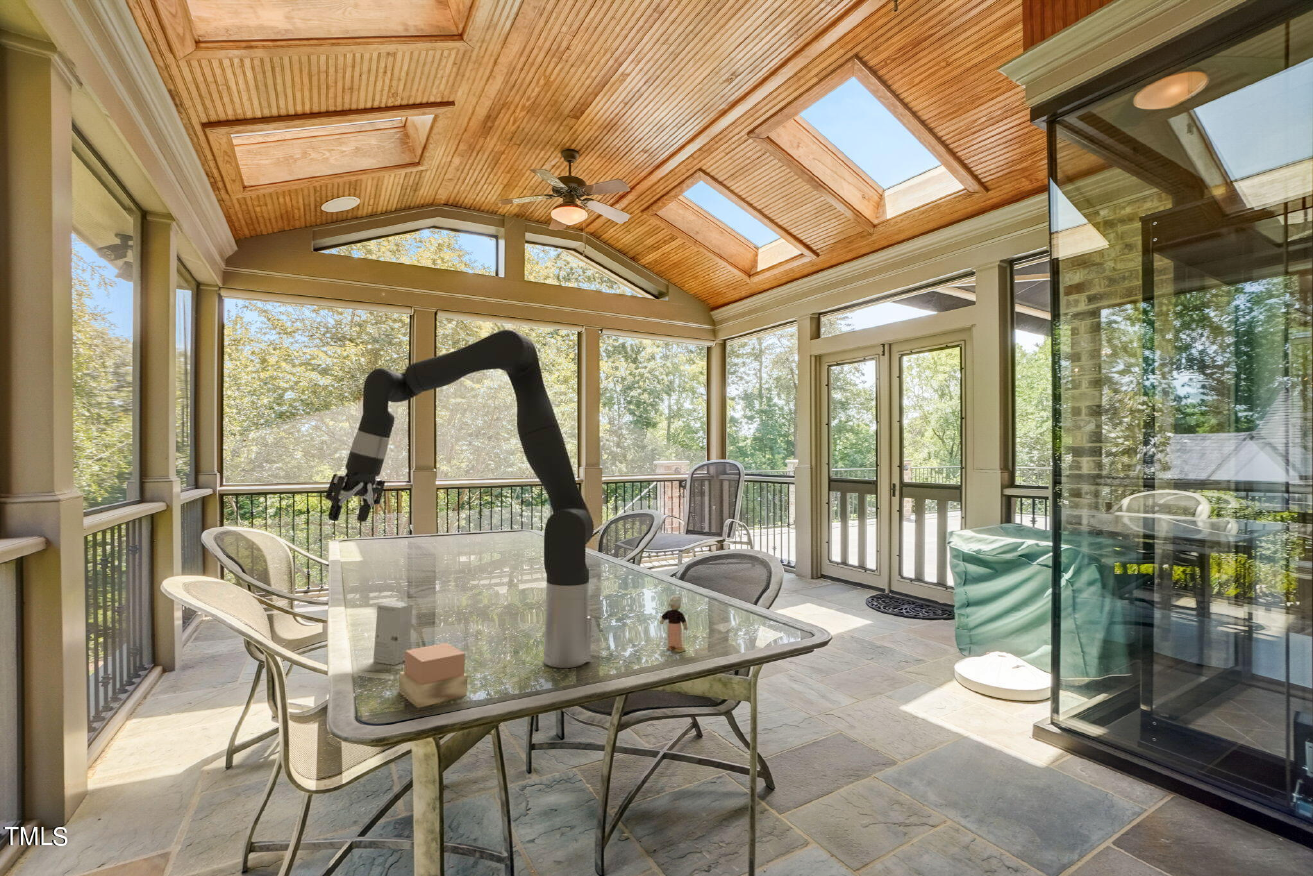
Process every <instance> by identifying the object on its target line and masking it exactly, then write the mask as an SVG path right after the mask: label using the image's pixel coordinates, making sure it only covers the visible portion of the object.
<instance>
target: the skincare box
mask: <svg viewBox="0 0 1313 876" xmlns="http://www.w3.org/2000/svg"><path fill="white" fill-rule="evenodd" d="M413 605H414V604H413V603H408V602H403V601H395V600H389V601H386V602H382V603H379V604H377V608H376V623H375V633H374V634H375V636H374V648H373V662H375V663H380V664H384V663H385V664H386V665H390V664H391V665H390V666H397V665H399V664H398V663H400V664H402V663H404V662H403V661H405V650H410V646H411V645H410V643H411V634H412V633H411V632H412V617H413V609H414V608H413ZM401 662H402V663H401ZM396 664H397V665H396Z"/></svg>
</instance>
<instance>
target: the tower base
mask: <svg viewBox="0 0 1313 876" xmlns="http://www.w3.org/2000/svg"><path fill="white" fill-rule="evenodd" d="M398 682H399V683H398V693H399V692H400V693H401V694H402V695H404V696H403V698H405V697H406V698H405V699H406V700H407V699H408V700H407V701H408V702H410V703H411V704H412V705H414V706H415V707H416V708H418V709H420V708H423V707H427V706H430V705H435V704H438V703H442V702H446V701H447V702H448V701H449V700H454V699H458V698H462V697H465V696H467V691H468V690H467V689H468V674H467V673H465V672H464V675H463V676H458V677H454V678H449V679H445V680H440V681H436V682H432V683H427V684H423V685H420V684H419V683H418V682H416V681H415V680H414V679H412V678H411V677H410V676H408V675H407V674H406V673H404V671H400V672H399V679H398ZM400 693H399V694H400ZM401 694H400V695H401ZM402 695H401V696H402Z"/></svg>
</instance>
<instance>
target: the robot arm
mask: <svg viewBox="0 0 1313 876" xmlns="http://www.w3.org/2000/svg"><path fill="white" fill-rule="evenodd" d="M489 370H490V371H491V370H501V371H503V372H505V373H506V374H507V376H508V379H509V380H510V384H511V386H512V388H513V391H514V396H515V399H516V429H517V430H516V431H517V434H518V437H519V438H518V439H519V441H520V444H521V448H522V451H523V453H524V456H525V459H526V461H527V463H528V465H529V466H530V468H531V470H532V471H533V473H534V474H535V477H537V479H538V481H539V482H540V483H541V485H542V486H543V488H544V491H545V492H546V495H547V497H548V499H549V500H548V501H549V503H550V508H551V511H552V514H551V515H550V516H549V517H548V519H547V520H546V522H545V525H544V535H543V567H544V570H545V574H546V583H545V584H546V585H545V586H546V589H545V591H546V592H545V617H544V618H545V620H544V642H543V643H544V644H543V646H544V647H543V648H544V649H543V663H544V664H545V665H546V666H549V667H552V668H561V669H565V668H566V669H567V668H568V669H569V668H575V667H580V666H582V665H585V664H586V663H589V662H591V646H592V617H591V616H589V594H590V593H589V590H590V589H589V588H590V570H589V567H588V566H587V562H586V559H587V558H586V553H587V552H586V549H587V548H586V545H587V544H588V543H589V542H590V541H591V540H592V538H593V536H594V535H593V534H594V529H595V525H594V521H593V520H594V519H593V517H592V515H591V512H590V511H589V508H588V507H587V504H586V502H585V499H584V497H583V495H582V493H581V491H580V488H579V486H578V483H577V481H576V476H575V474H574V470H573V465H572V462H571V460H570V456H569V453H568V451H567V447H566V443H565V441H564V437H563V433H562V430H561V427H560V424H559V422H558V419H557V417H556V413H555V411H554V409H553V408H554V407H553V405H552V402H551V399H550V397H549V395H548V392H547V389H546V386H545V383H544V379H543V374H542V370H541V365H540V359H539V355H538V352H537V348H536V346H535V345H534V342H533V341H532V339H530V338H529V337H528V336H526V335H524V334H522V333H520V332H518V331H516V330H513V329H501V330H498V331H496V332H494V333H492V334H489V335H487V336H485V337H484V338H481V339H479V340H477V341H475V342H473V343H471V344H468V345H466V346H464V347H460V348H459V349H456V350H453V351H449V352H447V353H444V354H440V355H437V356H433V357H429V358H426V359H422V360H419V361H415V362H413V363H410V364H409V365H408V366H406V368H405V371H404V372H396V371H392V370H390V369H387V368H383V367H379V368H374V369H373V370H372V371H371V372H369V373H368V375H367V377H366V378H365V381H364V383H363V390H362V391H363V393H362V394H363V395H362V416H361V419H360V422H359V425H358V428H357V431H356V434H355V436H354V438H353V440H352V444H351V446H350V450H349V454H348V457H347V460H346V463H345V466H344V467H345V469H346V473H345V475H341V474H338V473H333V474H332V478H331V481H330V482H329V486H328V488H327V492H326V495H325V496H324V498H325V500H327V501H329V502H330V503H331V505H330V509H329V511H328V515H327V516H328V517H327V518H328V520H330V521H333V522H338V521H339V518H340V515H341V513H342V509H343V505H344V503H345V502H346V501H347V500H350V499H351V498H352V497H358V496H359V497H360V500H361V502H362V504H360V508H359V511H358V513H357V518H356V520H357V521H359V522H363V523H364V522H367V520H368V518H369V515H370V512H371V510H372V507H374V506H375V505H380V504H381V501H382V496H383V493H384V488H385V484H386V481H385V480H383V479H382V478H381V479H379V478H376V477H379V476H380V475H381V471H382V469H383V465H384V462H385V459H386V455H387V452H388V449H389V442H390V438H391V434H392V432H393V429H394V428H393V427H394V424H395V415H393V414H392V412H390V411H389V402H390V403H402V402H406V401H408V400H411V399H413V398H415V397H416V396H417V397H418V396H419V395H420V394H421V393H425V392H427V391H432V390H434V389H435V390H436V389H439V388H442V387H446V386H449V385H451V384H453V383H455V382H457V381H459V380H461V379H462V378H464V377H466V376H468V375H470V374H473V373H477V372H481V371H489Z"/></svg>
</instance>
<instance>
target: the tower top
mask: <svg viewBox="0 0 1313 876" xmlns="http://www.w3.org/2000/svg"><path fill="white" fill-rule="evenodd" d="M465 663H466V653H465V652H464V651H462V650H460V649H459V648H457V647H454V645H452V644H450V643H448V642H445V643H439V644H434V645H428V646H422V647H416V648H411V649H409V650H405V662H404V667H403V669H404V670H403V672H404V673H406V674H407V675H408V676H410V677H411V678H412V679H414V680H415V681H416V682H418V683H419V684H420V685H423V684H427V683H432V682H436V681H440V680H445V679H449V678H454V677H458V676H463V675H464V673H465Z"/></svg>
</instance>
